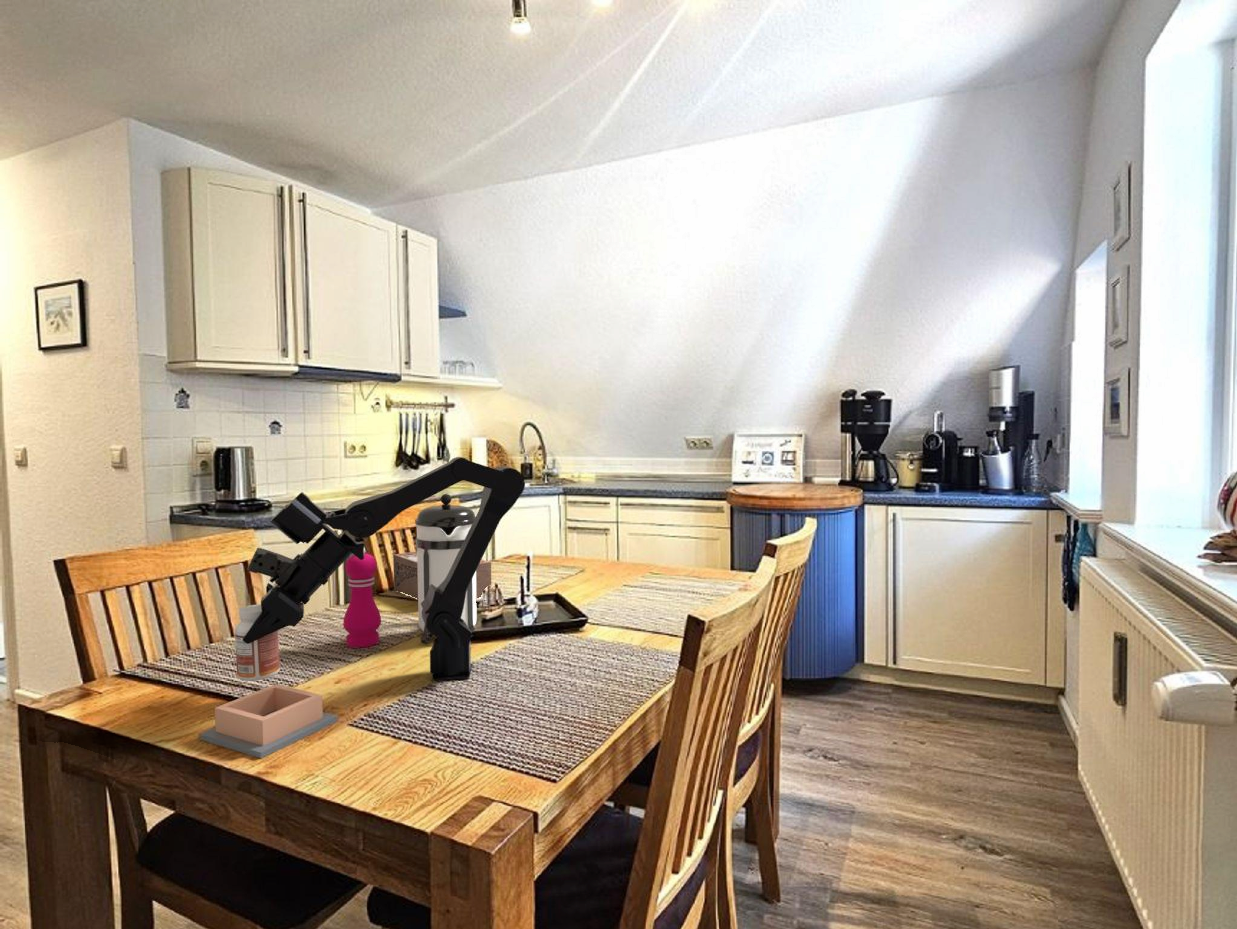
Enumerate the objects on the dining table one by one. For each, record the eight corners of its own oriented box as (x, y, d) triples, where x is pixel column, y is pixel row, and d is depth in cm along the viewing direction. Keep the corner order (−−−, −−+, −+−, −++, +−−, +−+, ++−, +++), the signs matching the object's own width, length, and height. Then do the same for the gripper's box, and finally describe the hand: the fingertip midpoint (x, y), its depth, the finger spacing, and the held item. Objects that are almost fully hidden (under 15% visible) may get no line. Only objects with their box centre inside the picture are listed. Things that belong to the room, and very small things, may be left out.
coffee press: (501, 629, 151) (500, 492, 150) (446, 650, 138) (444, 499, 136) (444, 617, 161) (443, 488, 159) (388, 635, 147) (385, 494, 145)
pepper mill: (369, 649, 138) (367, 549, 137) (336, 647, 139) (334, 548, 138) (388, 638, 145) (386, 543, 144) (356, 636, 146) (354, 542, 145)
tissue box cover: (393, 591, 187) (393, 554, 186) (443, 583, 196) (442, 548, 196) (439, 611, 167) (438, 569, 167) (491, 600, 177) (491, 562, 176)
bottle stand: (338, 721, 105) (337, 693, 105) (261, 758, 93) (260, 727, 93) (278, 705, 111) (277, 679, 110) (198, 739, 99) (197, 709, 99)
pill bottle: (279, 665, 117) (277, 601, 116) (279, 678, 112) (277, 609, 111) (237, 672, 114) (234, 605, 114) (235, 684, 109) (232, 615, 108)
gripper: (283, 522, 122) (213, 591, 118) (275, 539, 104) (194, 620, 101) (333, 563, 125) (267, 631, 122) (334, 586, 108) (257, 666, 104)
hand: (247, 636), depth 112 cm, fingers closed on pill bottle, 6 cm apart
